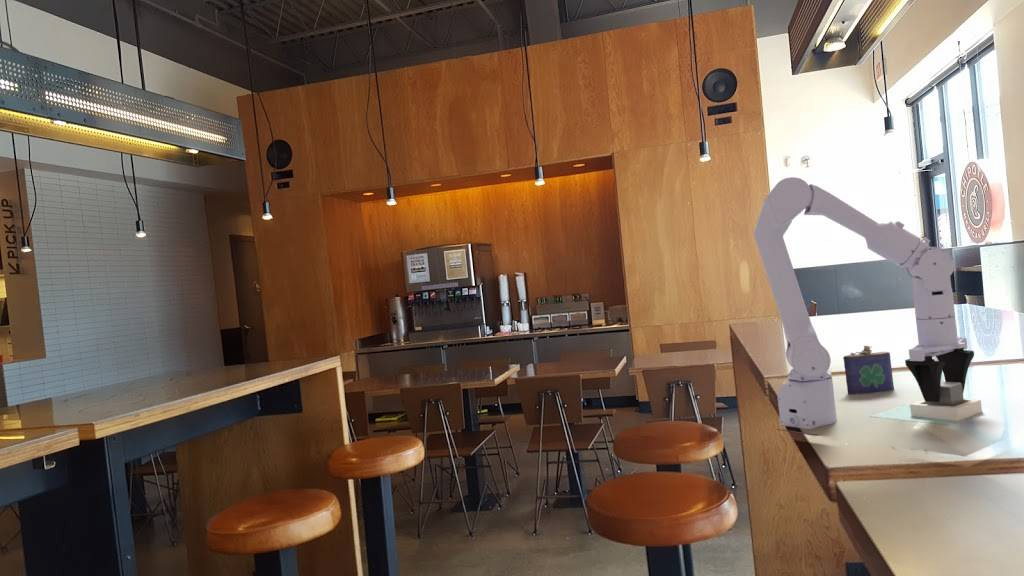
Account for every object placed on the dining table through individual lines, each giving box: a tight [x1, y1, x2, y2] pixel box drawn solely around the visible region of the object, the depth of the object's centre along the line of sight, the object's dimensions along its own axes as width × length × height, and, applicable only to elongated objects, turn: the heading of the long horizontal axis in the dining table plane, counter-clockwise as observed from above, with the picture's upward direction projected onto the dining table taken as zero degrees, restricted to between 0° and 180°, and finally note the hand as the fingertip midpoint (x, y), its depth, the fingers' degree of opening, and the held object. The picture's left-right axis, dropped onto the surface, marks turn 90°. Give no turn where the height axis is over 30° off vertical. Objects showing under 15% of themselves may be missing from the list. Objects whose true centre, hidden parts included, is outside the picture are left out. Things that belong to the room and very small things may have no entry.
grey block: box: [926, 381, 965, 407], centre depth 117 cm, size 4×4×5 cm
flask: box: [843, 345, 895, 395], centre depth 142 cm, size 9×3×11 cm, turn 88°
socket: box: [909, 398, 983, 422], centre depth 117 cm, size 8×8×2 cm
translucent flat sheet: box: [869, 404, 983, 426], centre depth 118 cm, size 11×13×1 cm
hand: (944, 397), depth 117 cm, fingers open, 7 cm apart
